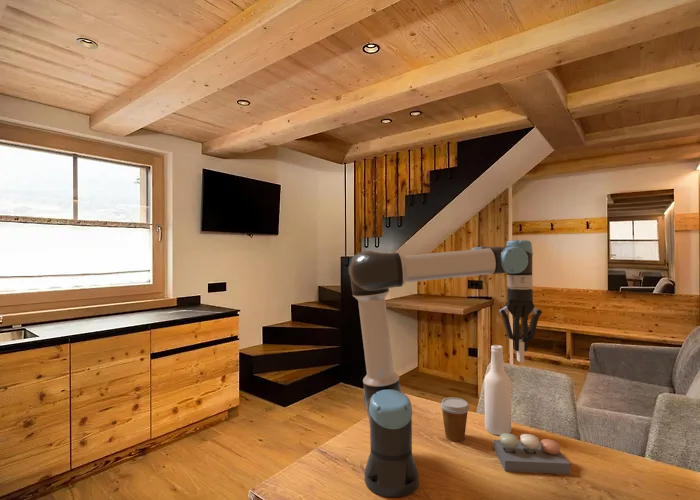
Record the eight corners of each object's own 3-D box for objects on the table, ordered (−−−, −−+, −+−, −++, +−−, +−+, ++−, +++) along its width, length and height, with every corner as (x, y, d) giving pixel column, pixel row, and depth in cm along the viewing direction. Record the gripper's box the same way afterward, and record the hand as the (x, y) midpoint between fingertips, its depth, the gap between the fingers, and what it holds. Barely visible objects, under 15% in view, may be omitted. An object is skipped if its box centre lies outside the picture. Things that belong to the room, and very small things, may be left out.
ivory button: (524, 458, 112) (523, 441, 112) (518, 449, 117) (518, 433, 117) (541, 459, 112) (541, 442, 112) (535, 450, 117) (534, 434, 117)
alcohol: (514, 428, 135) (513, 345, 135) (508, 439, 128) (507, 350, 128) (488, 422, 140) (487, 341, 140) (481, 431, 133) (480, 347, 133)
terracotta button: (545, 464, 112) (544, 447, 112) (538, 454, 117) (538, 438, 117) (562, 464, 111) (562, 447, 111) (555, 455, 116) (555, 439, 116)
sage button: (503, 457, 113) (503, 441, 113) (498, 448, 118) (498, 432, 118) (520, 458, 112) (520, 441, 112) (514, 449, 117) (514, 433, 117)
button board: (505, 471, 109) (505, 460, 109) (493, 449, 121) (493, 439, 121) (570, 474, 108) (570, 463, 108) (552, 451, 120) (552, 442, 120)
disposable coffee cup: (471, 445, 124) (470, 409, 124) (441, 442, 126) (440, 407, 126) (467, 431, 133) (467, 397, 133) (440, 429, 135) (439, 396, 135)
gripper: (502, 289, 118) (503, 364, 118) (545, 289, 117) (546, 364, 117) (495, 286, 126) (496, 357, 126) (536, 286, 124) (537, 357, 124)
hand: (520, 360), depth 121 cm, fingers closed
